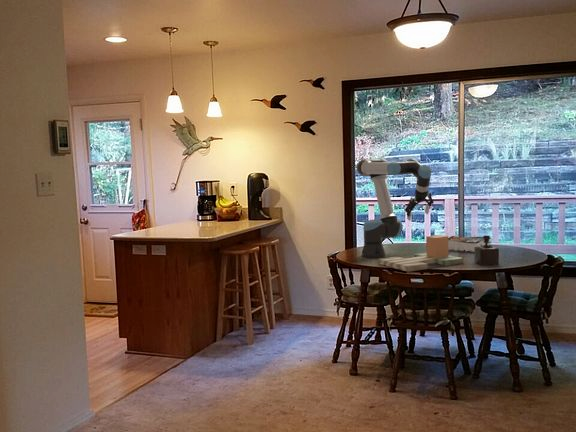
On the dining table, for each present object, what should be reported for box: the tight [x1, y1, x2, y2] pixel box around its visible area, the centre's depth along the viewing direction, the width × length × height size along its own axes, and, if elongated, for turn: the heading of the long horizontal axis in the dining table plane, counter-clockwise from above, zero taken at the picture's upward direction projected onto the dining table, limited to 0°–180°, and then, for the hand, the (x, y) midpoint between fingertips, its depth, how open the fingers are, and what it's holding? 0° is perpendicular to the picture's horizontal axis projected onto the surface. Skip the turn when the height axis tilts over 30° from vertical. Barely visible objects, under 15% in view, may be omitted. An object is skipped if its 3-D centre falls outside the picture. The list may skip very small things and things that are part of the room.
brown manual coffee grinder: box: [473, 234, 500, 266], centre depth 318 cm, size 16×11×18 cm
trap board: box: [378, 251, 464, 273], centre depth 329 cm, size 28×40×3 cm
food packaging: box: [448, 235, 492, 253], centre depth 371 cm, size 25×8×23 cm
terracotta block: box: [425, 234, 450, 258], centre depth 334 cm, size 8×10×12 cm
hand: (417, 216), depth 349 cm, fingers open, 13 cm apart
